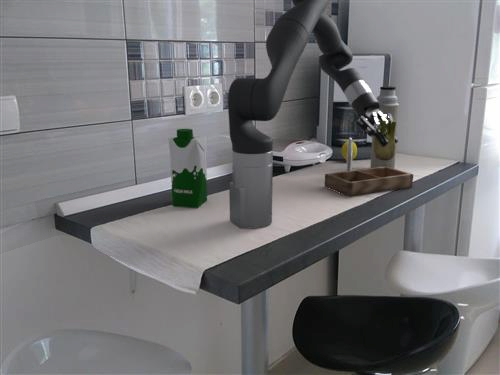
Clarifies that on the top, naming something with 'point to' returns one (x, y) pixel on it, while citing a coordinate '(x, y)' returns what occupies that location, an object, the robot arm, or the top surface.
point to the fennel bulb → (389, 149)
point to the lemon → (344, 150)
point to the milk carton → (188, 168)
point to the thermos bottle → (386, 106)
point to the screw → (349, 156)
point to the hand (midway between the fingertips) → (390, 144)
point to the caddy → (368, 181)
